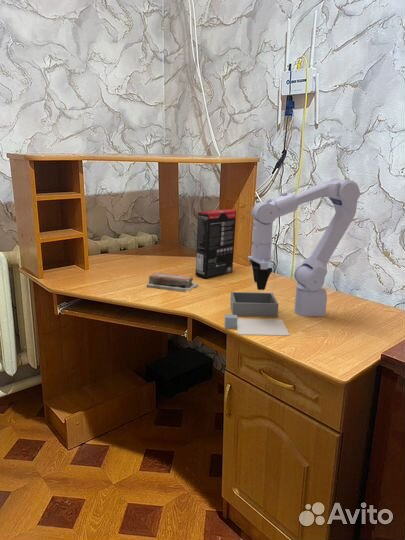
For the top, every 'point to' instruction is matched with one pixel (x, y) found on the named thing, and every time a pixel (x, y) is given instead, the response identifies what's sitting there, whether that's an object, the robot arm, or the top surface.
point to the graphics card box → (215, 242)
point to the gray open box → (254, 304)
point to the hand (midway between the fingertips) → (259, 285)
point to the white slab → (256, 326)
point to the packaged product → (171, 282)
